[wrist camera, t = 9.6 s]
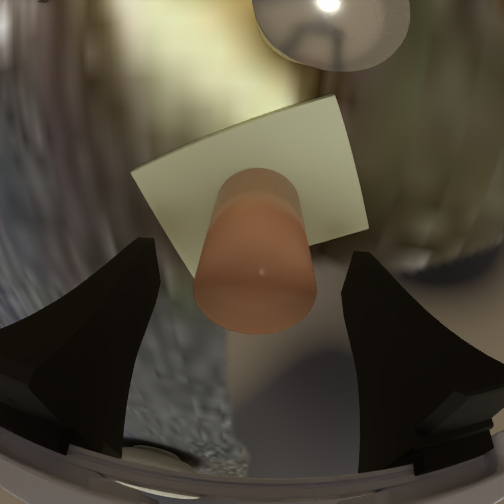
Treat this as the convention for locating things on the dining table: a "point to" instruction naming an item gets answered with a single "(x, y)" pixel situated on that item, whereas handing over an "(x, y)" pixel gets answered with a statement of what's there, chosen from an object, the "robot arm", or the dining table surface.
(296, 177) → the mat
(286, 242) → the terracotta cap
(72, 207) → the dining table surface
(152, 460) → the cereal bowl
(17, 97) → the dining table surface
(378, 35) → the grey shiny short cylinder
